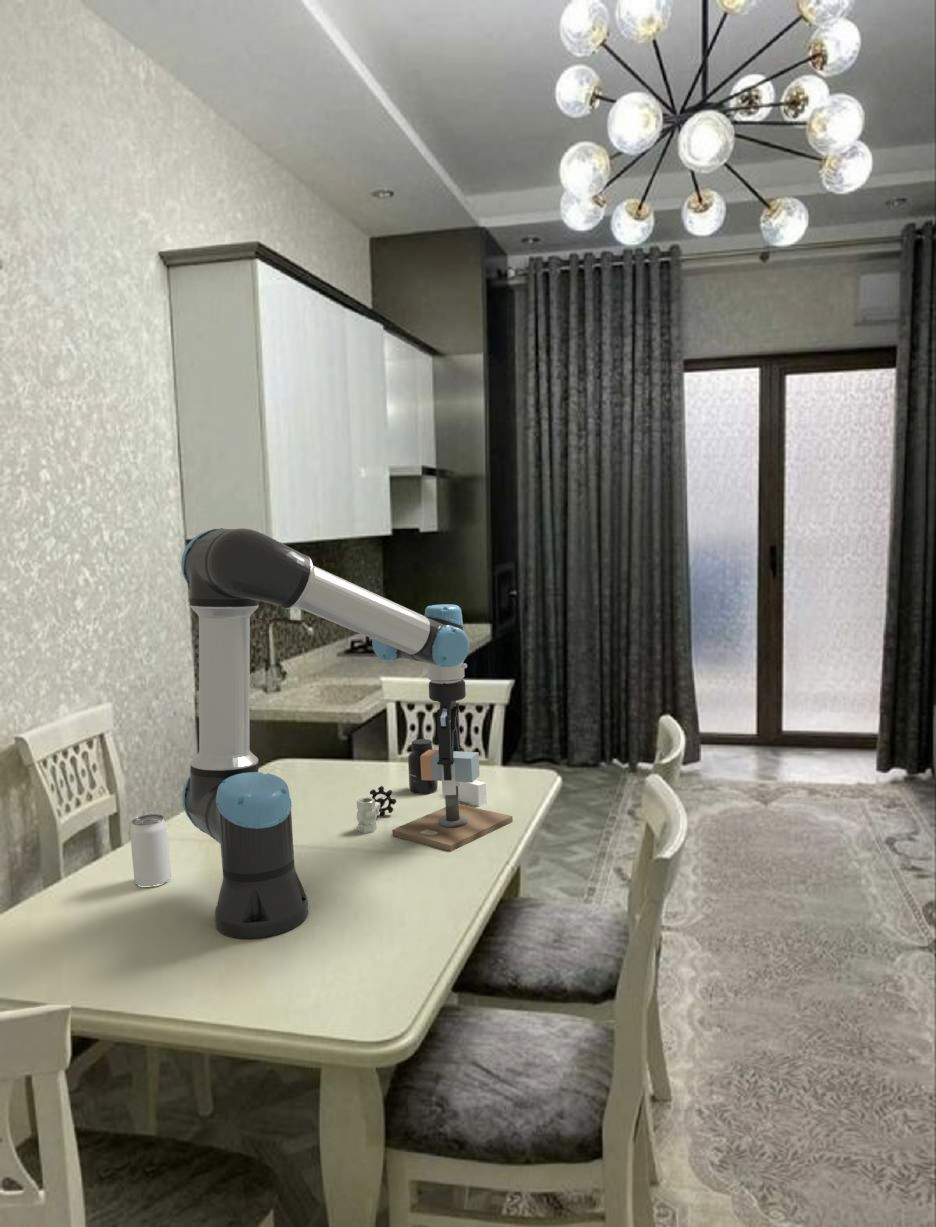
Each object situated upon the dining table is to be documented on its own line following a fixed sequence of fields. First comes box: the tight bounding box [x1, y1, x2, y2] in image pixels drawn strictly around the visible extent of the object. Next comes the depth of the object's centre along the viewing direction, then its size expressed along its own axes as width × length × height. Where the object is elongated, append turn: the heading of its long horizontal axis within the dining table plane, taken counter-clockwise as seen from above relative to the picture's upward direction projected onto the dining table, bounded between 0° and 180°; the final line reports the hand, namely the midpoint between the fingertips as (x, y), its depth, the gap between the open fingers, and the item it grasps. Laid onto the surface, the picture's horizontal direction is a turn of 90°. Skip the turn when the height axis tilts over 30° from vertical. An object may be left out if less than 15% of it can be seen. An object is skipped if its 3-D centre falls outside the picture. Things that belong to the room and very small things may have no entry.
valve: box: [356, 785, 397, 834], centre depth 195 cm, size 7×7×12 cm
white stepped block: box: [458, 779, 487, 807], centre depth 210 cm, size 15×11×6 cm
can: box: [129, 813, 172, 886], centre depth 169 cm, size 6×6×12 cm
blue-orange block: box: [420, 749, 480, 786], centre depth 189 cm, size 5×11×6 cm, turn 71°
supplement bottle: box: [407, 738, 439, 795], centre depth 217 cm, size 7×7×12 cm
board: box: [391, 786, 514, 852], centre depth 190 cm, size 20×16×9 cm
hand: (451, 789), depth 189 cm, fingers closed on blue-orange block, 5 cm apart
